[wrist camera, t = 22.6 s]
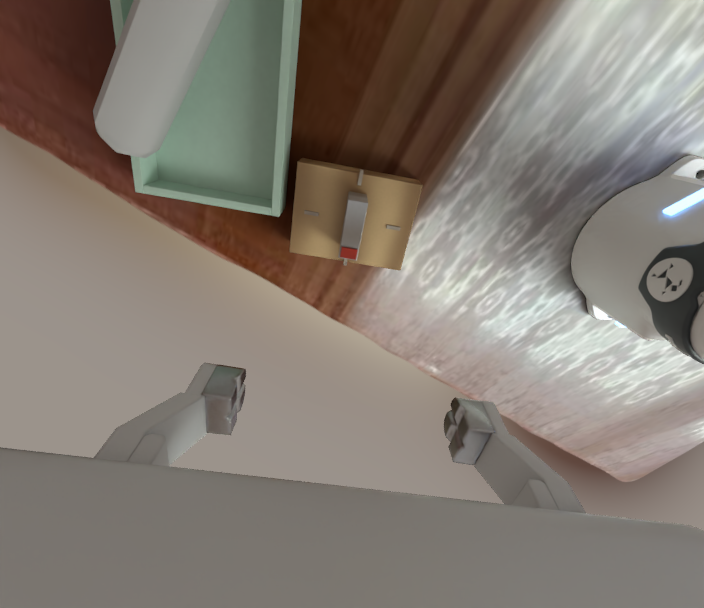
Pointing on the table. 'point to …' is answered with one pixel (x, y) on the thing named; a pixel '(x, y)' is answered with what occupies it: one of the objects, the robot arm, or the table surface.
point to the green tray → (231, 113)
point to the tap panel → (330, 204)
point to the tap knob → (353, 225)
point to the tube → (153, 71)
